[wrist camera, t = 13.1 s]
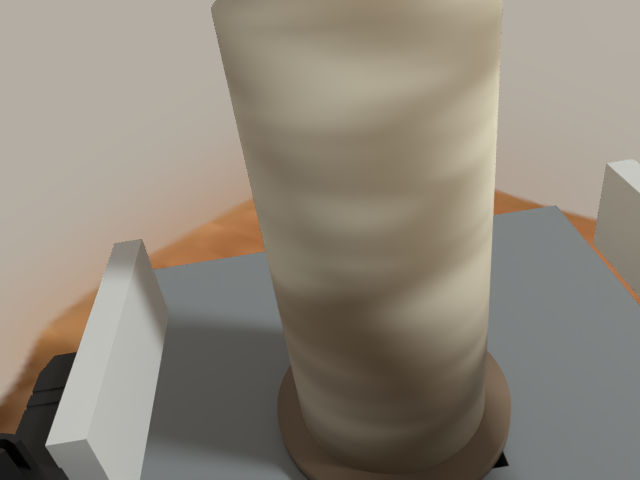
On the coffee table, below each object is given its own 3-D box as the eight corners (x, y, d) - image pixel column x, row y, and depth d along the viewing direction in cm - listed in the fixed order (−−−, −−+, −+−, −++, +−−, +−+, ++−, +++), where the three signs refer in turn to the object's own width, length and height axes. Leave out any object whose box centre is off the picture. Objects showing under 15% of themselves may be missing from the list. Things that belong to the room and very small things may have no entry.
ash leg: (298, 578, 18) (145, 72, 9) (287, 389, 24) (190, -21, 15) (541, 539, 18) (629, -5, 9) (468, 360, 24) (476, -67, 15)
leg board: (44, 909, 13) (-17, 882, 11) (161, 317, 30) (144, 271, 28) (917, 767, 13) (986, 720, 12) (550, 255, 30) (556, 205, 28)
